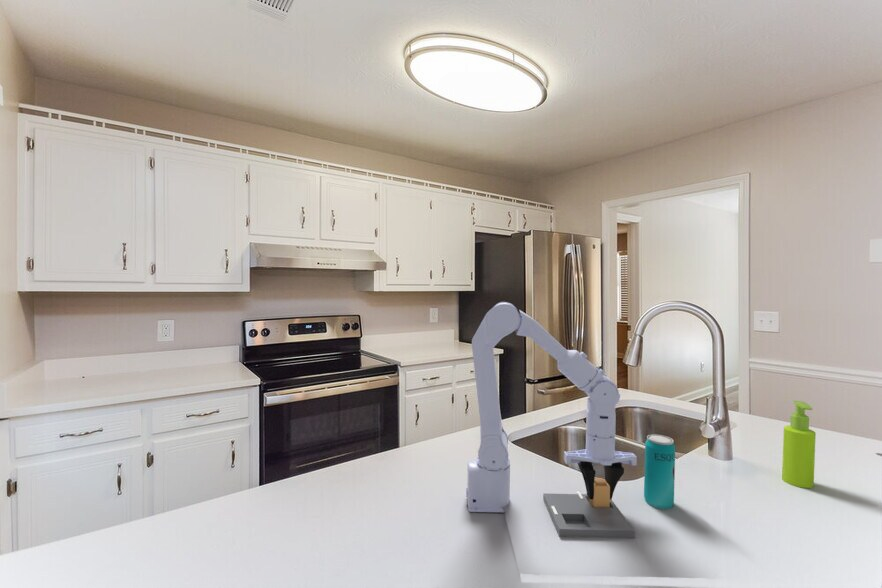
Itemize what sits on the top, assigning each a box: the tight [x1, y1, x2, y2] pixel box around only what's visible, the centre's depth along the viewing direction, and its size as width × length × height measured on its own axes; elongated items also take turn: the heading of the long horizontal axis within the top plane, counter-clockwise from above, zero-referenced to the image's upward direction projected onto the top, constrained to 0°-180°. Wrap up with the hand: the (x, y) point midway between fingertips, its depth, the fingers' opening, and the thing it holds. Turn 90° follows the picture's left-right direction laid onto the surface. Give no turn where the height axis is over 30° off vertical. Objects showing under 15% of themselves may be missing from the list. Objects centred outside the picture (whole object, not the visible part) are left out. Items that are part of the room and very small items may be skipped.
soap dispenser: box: [781, 400, 817, 489], centre depth 100 cm, size 6×7×20 cm
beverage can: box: [643, 433, 676, 510], centre depth 89 cm, size 6×6×15 cm
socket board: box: [542, 490, 636, 539], centre depth 84 cm, size 14×14×2 cm
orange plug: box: [589, 477, 610, 508], centre depth 87 cm, size 3×3×6 cm
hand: (599, 497), depth 87 cm, fingers closed on orange plug, 3 cm apart
